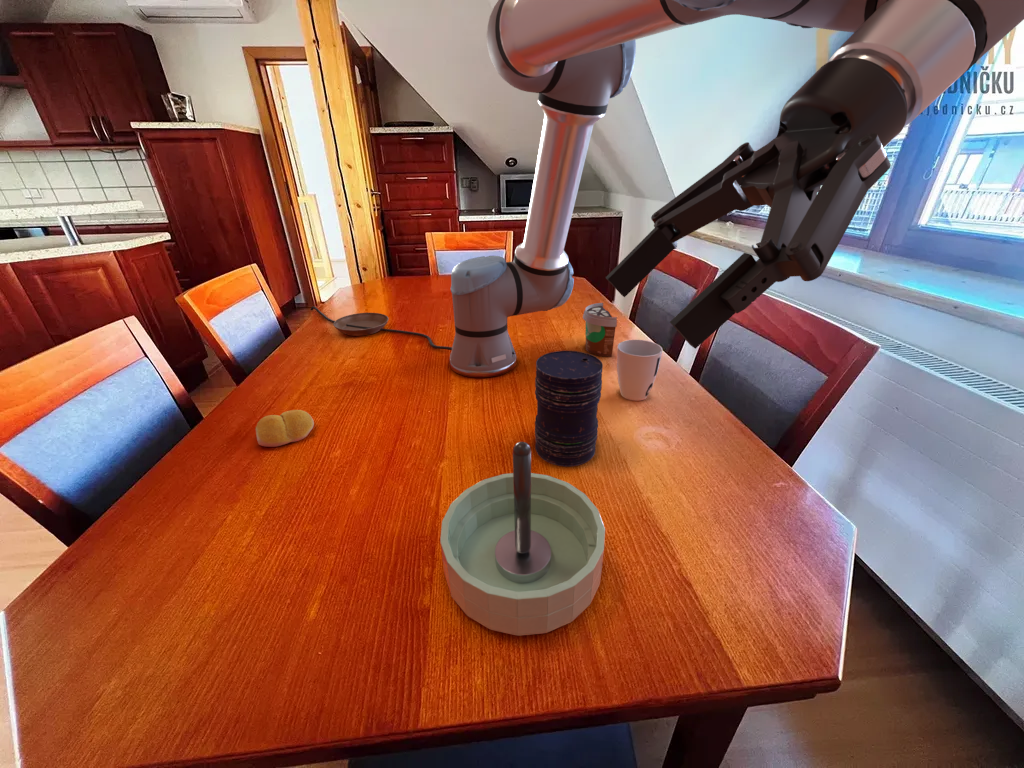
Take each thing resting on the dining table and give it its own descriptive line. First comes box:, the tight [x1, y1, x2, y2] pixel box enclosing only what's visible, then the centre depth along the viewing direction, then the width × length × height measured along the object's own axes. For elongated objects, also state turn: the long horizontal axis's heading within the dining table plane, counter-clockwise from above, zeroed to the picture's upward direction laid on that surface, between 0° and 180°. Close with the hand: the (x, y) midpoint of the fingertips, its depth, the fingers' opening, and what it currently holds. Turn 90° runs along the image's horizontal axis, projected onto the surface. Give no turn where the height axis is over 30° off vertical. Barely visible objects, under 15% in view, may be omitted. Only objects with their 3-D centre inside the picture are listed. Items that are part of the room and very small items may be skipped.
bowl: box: [439, 472, 606, 637], centre depth 47 cm, size 18×18×6 cm
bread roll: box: [255, 409, 315, 448], centre depth 73 cm, size 8×9×4 cm
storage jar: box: [534, 350, 604, 467], centre depth 65 cm, size 10×10×15 cm
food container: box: [582, 302, 618, 357], centre depth 102 cm, size 12×6×10 cm, turn 5°
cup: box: [616, 339, 663, 402], centre depth 81 cm, size 8×8×10 cm
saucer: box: [332, 312, 390, 337], centre depth 119 cm, size 15×15×3 cm
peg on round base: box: [495, 441, 551, 583], centre depth 45 cm, size 6×6×16 cm
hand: (642, 308), depth 36 cm, fingers open, 13 cm apart
